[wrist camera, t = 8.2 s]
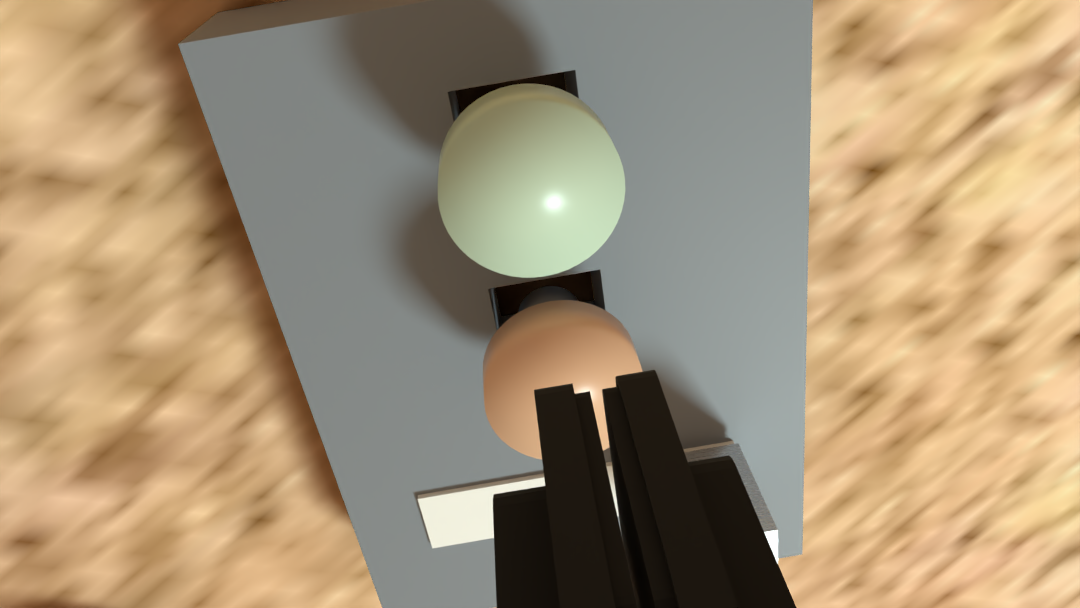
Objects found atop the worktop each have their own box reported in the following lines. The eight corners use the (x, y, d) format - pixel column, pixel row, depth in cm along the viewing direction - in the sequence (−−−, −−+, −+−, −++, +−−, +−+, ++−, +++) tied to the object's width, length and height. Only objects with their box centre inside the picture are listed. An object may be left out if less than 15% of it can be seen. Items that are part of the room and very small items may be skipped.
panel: (218, 12, 24) (175, 46, 20) (762, -82, 24) (816, -65, 20) (395, 547, 35) (388, 629, 32) (768, 482, 35) (804, 557, 32)
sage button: (425, 68, 22) (418, 120, 18) (587, 40, 22) (615, 86, 18) (457, 217, 24) (457, 291, 21) (605, 191, 24) (633, 261, 21)
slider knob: (650, 458, 28) (677, 547, 25) (738, 443, 28) (777, 530, 25) (657, 522, 30) (683, 614, 26) (740, 507, 30) (778, 598, 26)
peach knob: (468, 264, 25) (469, 344, 21) (610, 240, 25) (638, 316, 21) (493, 381, 28) (499, 472, 24) (624, 358, 28) (652, 446, 24)
